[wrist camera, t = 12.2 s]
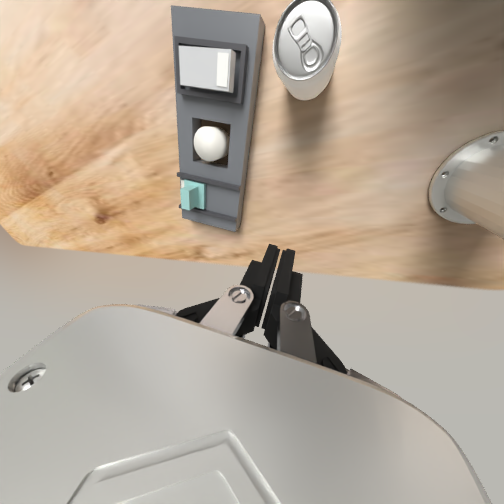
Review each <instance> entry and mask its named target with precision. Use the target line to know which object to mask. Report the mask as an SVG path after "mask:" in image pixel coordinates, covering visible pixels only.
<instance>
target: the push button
mask: <svg viewBox="0 0 504 504" xmlns="http://www.w3.org/2000/svg"><path fill="white" fill-rule="evenodd" d="M229 142H230V138H229V135H228V134H227V132H226V131H225V130H224V129H222V128H220V127H208V126H205V127H201V128H200V129H198V130H197V132H196V133H195V136H194V147H195V150H196V152H197V154H198V155H199V156H200V157H201V158H202V159H203V160H205V161H215V160H218V159H221V158H224V157H225V156H226V155H227V154H228V153H229Z"/></svg>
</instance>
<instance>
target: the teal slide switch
mask: <svg viewBox="0 0 504 504" xmlns="http://www.w3.org/2000/svg"><path fill="white" fill-rule="evenodd" d="M180 190H181V208H182V209H186V210H191V209H193V208H194V207H197V208H200V209H205V208H206V183H201V182H197V181H193V180H189V179H185V180H184V187H183V188H181V189H180Z"/></svg>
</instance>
